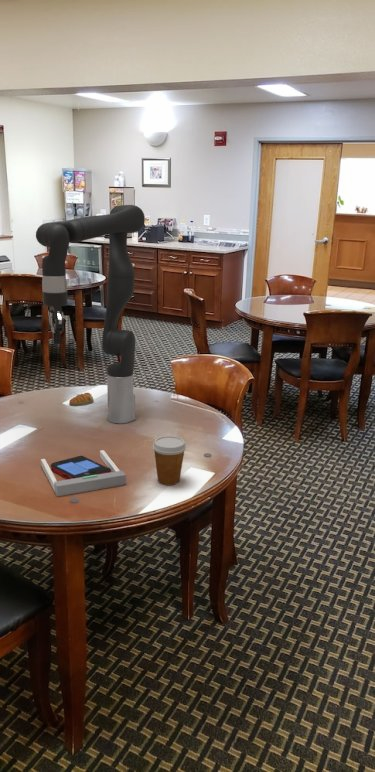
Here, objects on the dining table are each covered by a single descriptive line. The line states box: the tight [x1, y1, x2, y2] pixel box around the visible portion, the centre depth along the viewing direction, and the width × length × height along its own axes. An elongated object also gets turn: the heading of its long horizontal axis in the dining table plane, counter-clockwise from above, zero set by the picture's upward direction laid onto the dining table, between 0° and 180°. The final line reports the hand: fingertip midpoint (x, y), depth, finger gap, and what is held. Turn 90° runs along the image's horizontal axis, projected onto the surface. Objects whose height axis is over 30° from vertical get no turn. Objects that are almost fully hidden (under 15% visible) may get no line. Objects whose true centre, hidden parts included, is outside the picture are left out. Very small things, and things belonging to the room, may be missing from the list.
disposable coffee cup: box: [152, 435, 187, 486], centre depth 169 cm, size 10×10×12 cm
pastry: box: [68, 392, 94, 407], centre depth 232 cm, size 9×7×4 cm
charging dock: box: [40, 449, 127, 498], centre depth 172 cm, size 19×21×3 cm
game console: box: [50, 455, 111, 480], centre depth 176 cm, size 14×13×2 cm
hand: (56, 343), depth 191 cm, fingers closed
